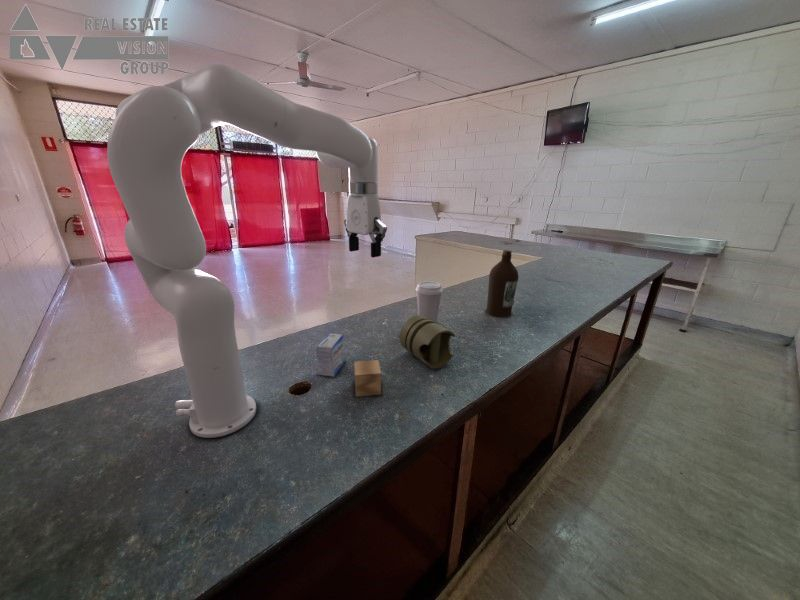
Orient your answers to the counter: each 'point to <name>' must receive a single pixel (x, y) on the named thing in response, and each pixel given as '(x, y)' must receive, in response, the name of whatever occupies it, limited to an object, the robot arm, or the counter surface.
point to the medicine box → (330, 354)
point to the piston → (427, 341)
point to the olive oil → (502, 287)
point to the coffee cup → (429, 299)
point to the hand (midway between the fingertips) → (364, 253)
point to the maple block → (367, 378)
